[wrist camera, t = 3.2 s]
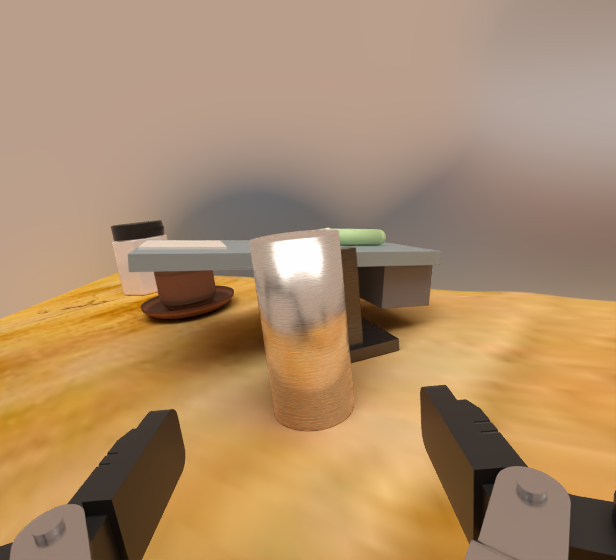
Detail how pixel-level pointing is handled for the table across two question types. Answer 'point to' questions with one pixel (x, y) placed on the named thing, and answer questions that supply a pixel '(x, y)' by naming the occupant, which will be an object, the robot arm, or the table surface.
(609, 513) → the robot arm
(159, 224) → the jar
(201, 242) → the platform
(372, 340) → the pivot stand
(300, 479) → the table surface
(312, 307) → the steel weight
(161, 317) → the cup and saucer
